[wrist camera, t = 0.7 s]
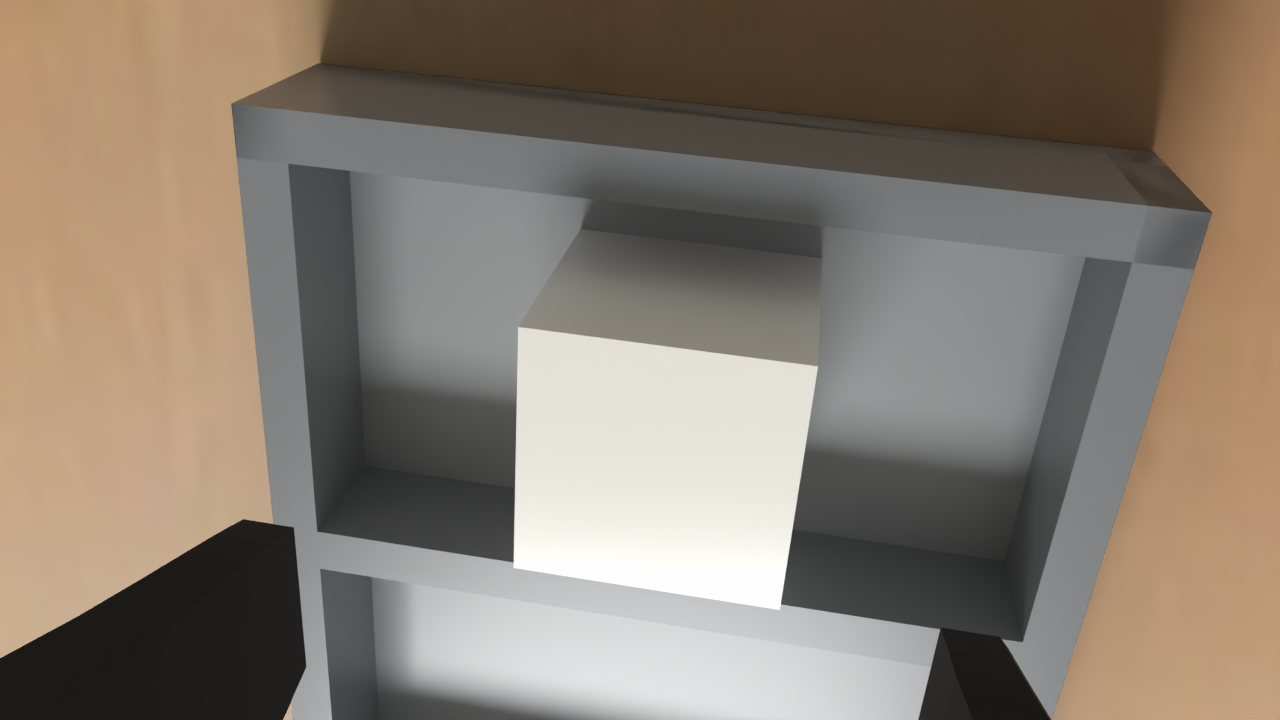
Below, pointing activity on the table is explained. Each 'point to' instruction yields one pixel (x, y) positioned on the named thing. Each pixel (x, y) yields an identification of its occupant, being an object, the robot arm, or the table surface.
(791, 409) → the white block
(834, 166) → the divided tray
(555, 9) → the table surface
